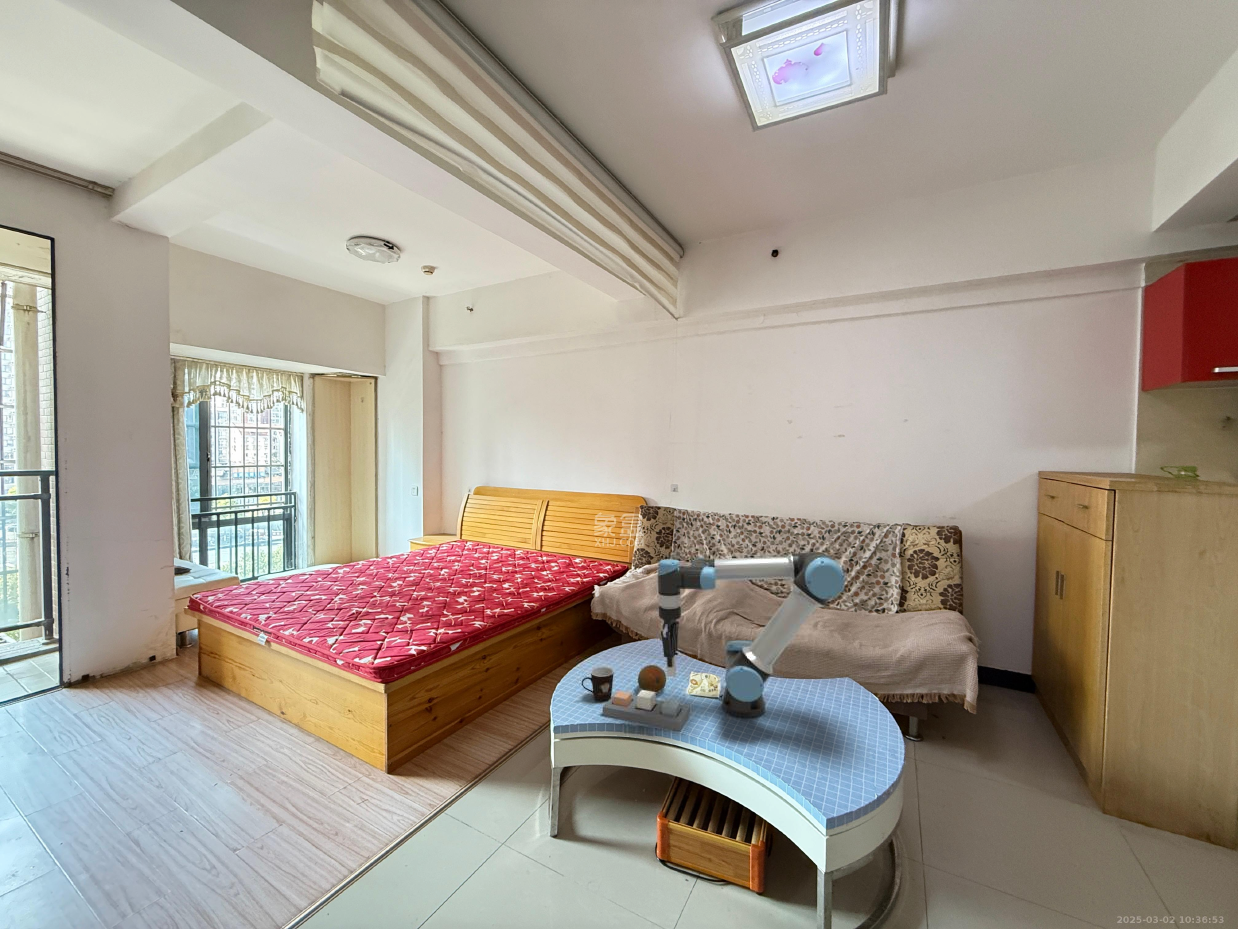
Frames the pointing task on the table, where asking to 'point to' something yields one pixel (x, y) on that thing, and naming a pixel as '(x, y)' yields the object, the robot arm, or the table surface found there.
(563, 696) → the table surface
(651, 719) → the grey slotted tray
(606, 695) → the coffee mug
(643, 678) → the fruit
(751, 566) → the robot arm
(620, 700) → the key terracotta
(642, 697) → the key ivory
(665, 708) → the key slate
